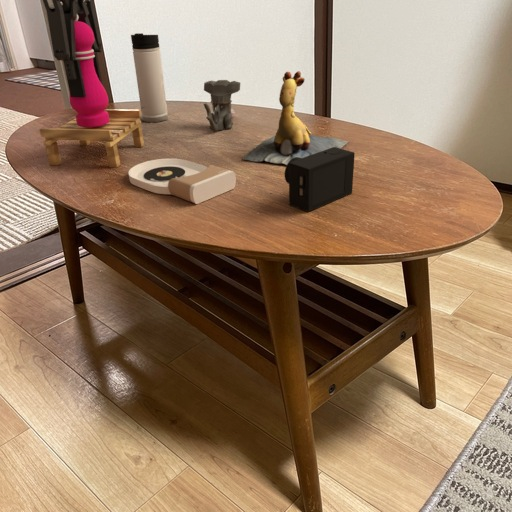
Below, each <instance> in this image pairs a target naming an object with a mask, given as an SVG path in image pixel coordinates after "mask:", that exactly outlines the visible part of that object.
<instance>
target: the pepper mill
mask: <svg viewBox="0 0 512 512" xmlns="http://www.w3.org/2000/svg"><path fill="white" fill-rule="evenodd" d="M78 18H79V17H78V14H77V19H76V20H75V49H76V59H75V60H79V62H80V67H81V72H82V77H83V83H84V88H85V93H86V97H71V95H70V94H69V104H70V105H69V106H70V107H71V108H72V109H73V110H74V111H75V112H76V115H75V117H74V118H76V122H77V125H78V126H80V127H97V126H102V125H105V124H107V123H109V121H110V120H109V118H110V117H109V115H108V112H107V111H105V109H107V107H108V105H109V96H108V93H107V91H106V88H105V87H104V84H103V83H102V84H101V82H100V81H99V79H98V77H97V74H96V72H95V68H94V63H93V58H94V57H95V55H94V53H93V52H94V50H93V49H91V47H92V45H93V43H94V34H93V31H92V29H91V28H90V26H88V25H87V24H86V23H84V22H80V21H78ZM77 113H78V114H77Z"/></svg>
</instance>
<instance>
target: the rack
mask: <svg viewBox="0 0 512 512" xmlns="http://www.w3.org/2000/svg"><path fill="white" fill-rule="evenodd" d="M105 111H107V112H108V115H109V120H110V121H109V123H107V124H105V125H102V126H97V127H80V126H78V125H77V122H76V117H74V118H73V119H72V120H70V121H67V122H66V124H62V125H61V126H59V127H58V128H57V127H41V128H39V133H40V137H41V138H44V139H45V140H43V145H44V146H45V150H46V154H47V158H48V162H49V166H59V165H61V164H62V159H61V154H60V150H59V146H58V142H59V141H79V145H80V146H82V147H83V146H85V147H86V146H89V145H90V144H91V141H92V142H104V144H103V145H104V147H105V150H106V157H107V162H108V167H109V168H115V169H116V168H118V167H120V166H121V160H120V155H119V149H118V144H117V143H119V142H120V141H121V140H123V139H124V138H125V137H127V136H128V135H129V134H132V139H133V140H132V141H133V147H134V148H143V146H144V145H145V142H144V134H143V127H142V121H141V118H142V112H141V109H116V108H115V109H114V108H113V109H111V108H109V109H108V108H106V109H105ZM77 114H78V113H77V112H76V115H77Z"/></svg>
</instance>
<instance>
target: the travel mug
mask: <svg viewBox="0 0 512 512" xmlns="http://www.w3.org/2000/svg"><path fill="white" fill-rule="evenodd" d="M130 39H131V47H132V49H131V50H132V55H133V63H134V69H135V77H136V84H137V90H138V97H139V103H140V111H141V118H142V119H141V120H142V121H144V122H145V123H160V122H164V121H166V120H168V119H169V114H168V107H167V106H168V105H167V97H166V88H165V79H164V71H163V62H162V54H161V47H160V43H159V42H160V41H159V34H144V33H143V32H142V33H136V32H135V33H134V34H130Z"/></svg>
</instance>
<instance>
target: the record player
mask: <svg viewBox="0 0 512 512" xmlns="http://www.w3.org/2000/svg"><path fill="white" fill-rule="evenodd" d="M128 180H129V182H130V184H131V185H133V186H135V187H138V188H141V189H143V190H146V191H149V192H151V193H154V194H158V195H172V196H174V197H177V198H179V199H182V200H185V201H187V202H190V203H193V204H195V205H199V204H202V203H203V202H206V201H208V200H210V199H213V198H216V197H217V196H220V195H222V194H224V193H227V192H229V191H233V190H234V189H235V188H236V185H237V176H236V173H235V171H233V170H229V169H226V168H223V167H219V166H216V165H213V164H209V165H208V167H207V166H205V165H203V164H201V163H197V162H193V161H190V160H186V159H183V158H170V157H169V158H158V159H152V160H147V161H144V162H140V163H138V164H136V165H134V166H132V167H131V168H130V169H129V170H128Z"/></svg>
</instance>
